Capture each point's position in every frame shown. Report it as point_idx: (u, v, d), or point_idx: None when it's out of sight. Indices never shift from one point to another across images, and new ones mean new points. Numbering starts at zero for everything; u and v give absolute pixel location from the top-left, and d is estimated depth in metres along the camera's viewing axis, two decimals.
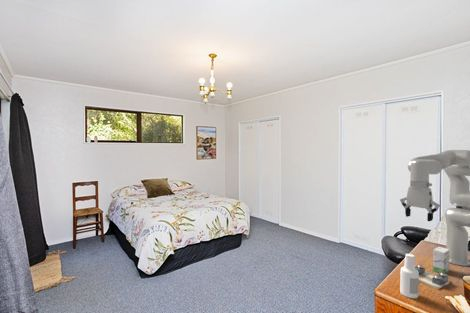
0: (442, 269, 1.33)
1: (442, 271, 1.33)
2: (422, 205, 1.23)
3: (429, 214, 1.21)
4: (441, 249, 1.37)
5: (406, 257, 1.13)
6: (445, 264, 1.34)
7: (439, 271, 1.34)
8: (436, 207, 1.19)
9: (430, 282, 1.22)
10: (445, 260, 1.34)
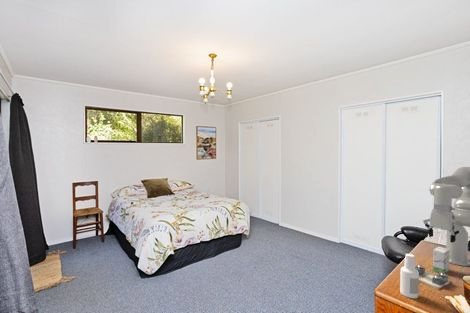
0: (442, 269, 1.33)
1: (442, 271, 1.33)
2: (445, 227, 1.33)
3: (452, 236, 1.32)
4: (441, 249, 1.37)
5: (406, 257, 1.13)
6: (445, 264, 1.34)
7: (439, 271, 1.34)
8: (459, 230, 1.30)
9: (430, 282, 1.22)
10: (445, 260, 1.34)
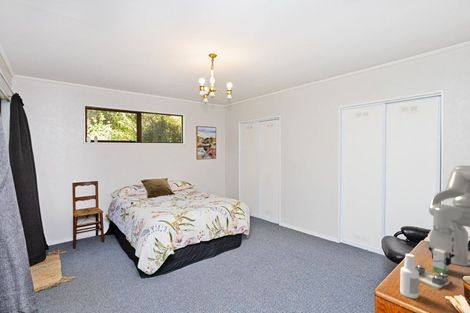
0: (442, 269, 1.33)
1: (442, 271, 1.33)
2: (445, 249, 1.34)
3: (447, 259, 1.34)
4: None
5: (406, 257, 1.13)
6: (445, 264, 1.34)
7: (439, 271, 1.34)
8: (455, 254, 1.31)
9: (430, 282, 1.22)
10: (445, 260, 1.34)
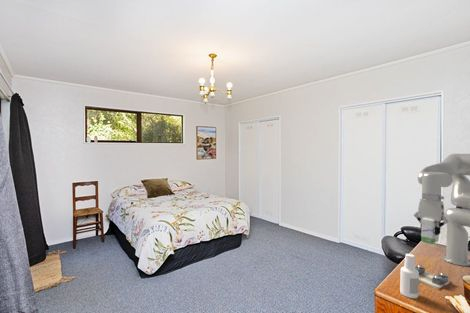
0: (431, 239, 1.24)
1: (431, 241, 1.24)
2: (434, 217, 1.24)
3: (436, 228, 1.24)
4: None
5: (406, 257, 1.13)
6: (434, 233, 1.24)
7: (428, 241, 1.25)
8: (444, 222, 1.22)
9: (430, 282, 1.22)
10: (434, 229, 1.24)
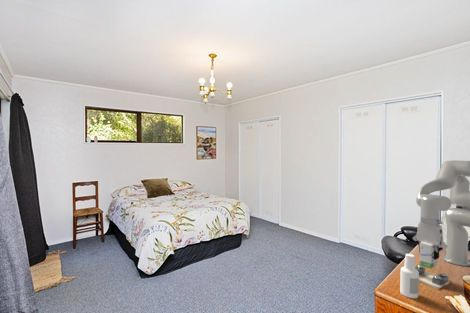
0: (429, 263, 1.23)
1: (429, 265, 1.23)
2: (433, 242, 1.24)
3: (435, 253, 1.24)
4: None
5: (406, 257, 1.13)
6: (433, 258, 1.24)
7: (426, 265, 1.24)
8: (443, 247, 1.21)
9: (430, 282, 1.22)
10: (433, 254, 1.24)
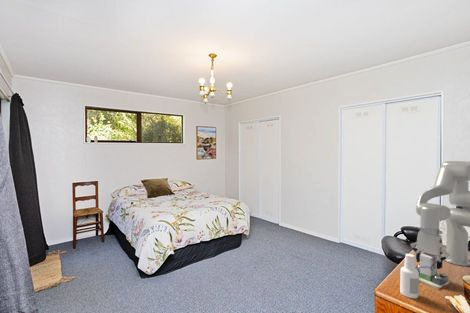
0: (429, 276, 1.24)
1: (429, 278, 1.24)
2: (432, 252, 1.24)
3: (438, 262, 1.23)
4: (428, 254, 1.27)
5: (406, 257, 1.13)
6: (432, 270, 1.24)
7: (426, 278, 1.25)
8: (446, 256, 1.20)
9: (430, 282, 1.22)
10: (432, 266, 1.24)
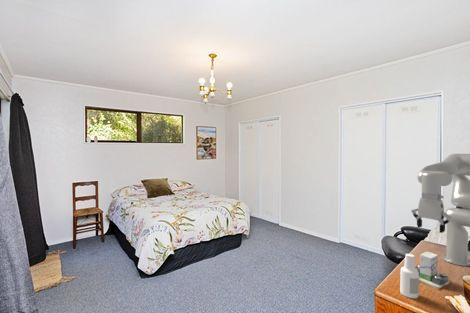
0: (429, 276, 1.24)
1: (429, 278, 1.24)
2: (434, 216, 1.26)
3: (441, 226, 1.24)
4: (428, 254, 1.27)
5: (406, 257, 1.13)
6: (432, 271, 1.24)
7: (426, 278, 1.25)
8: (448, 219, 1.22)
9: (430, 282, 1.22)
10: (432, 266, 1.24)
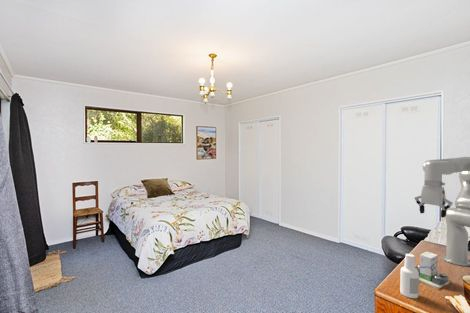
0: (429, 276, 1.24)
1: (429, 278, 1.24)
2: (436, 202, 1.34)
3: (442, 211, 1.32)
4: (428, 254, 1.27)
5: (406, 257, 1.13)
6: (432, 271, 1.24)
7: (426, 278, 1.25)
8: (449, 204, 1.30)
9: (430, 282, 1.22)
10: (432, 266, 1.24)
